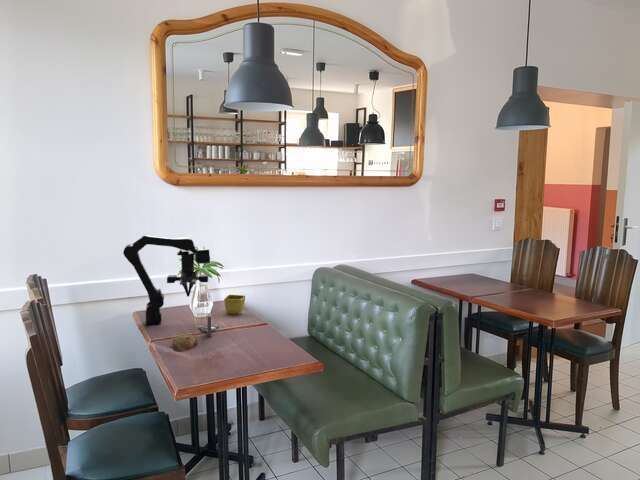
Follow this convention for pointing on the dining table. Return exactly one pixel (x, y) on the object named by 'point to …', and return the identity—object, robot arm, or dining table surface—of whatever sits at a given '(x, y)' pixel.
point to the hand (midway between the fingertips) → (188, 296)
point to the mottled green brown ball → (184, 342)
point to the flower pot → (234, 303)
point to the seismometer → (208, 326)
